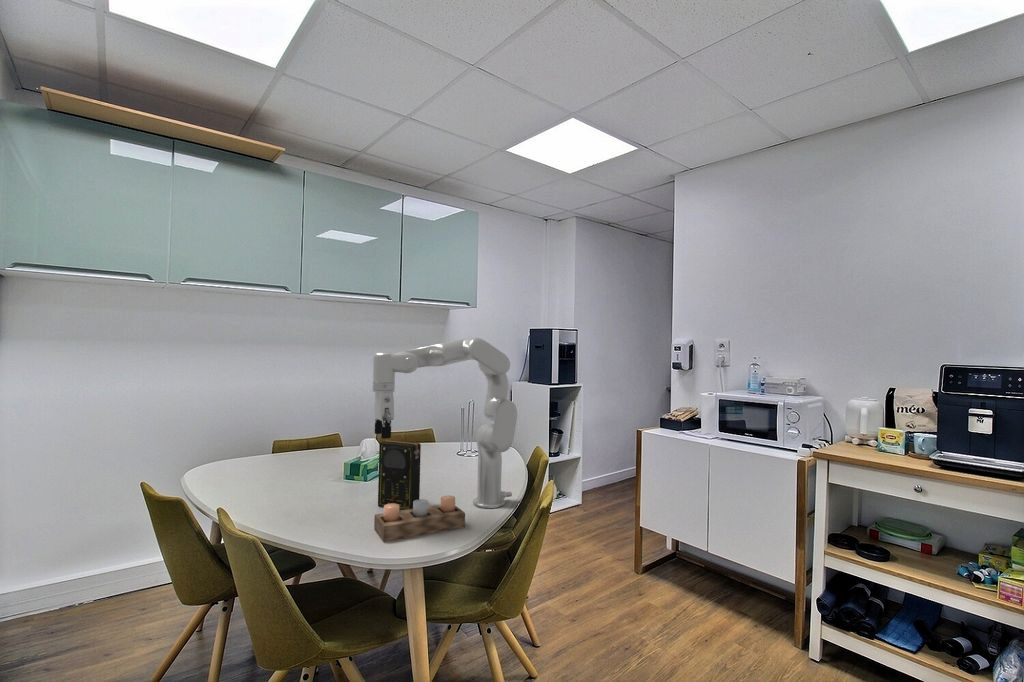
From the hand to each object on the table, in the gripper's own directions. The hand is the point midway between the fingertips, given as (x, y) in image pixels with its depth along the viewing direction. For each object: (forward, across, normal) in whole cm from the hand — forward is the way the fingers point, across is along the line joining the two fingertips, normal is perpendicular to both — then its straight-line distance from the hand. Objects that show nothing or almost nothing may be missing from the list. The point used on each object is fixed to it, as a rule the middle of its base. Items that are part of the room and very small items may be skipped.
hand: (382, 435), depth 168 cm
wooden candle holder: (+30, -12, -10) cm, 34 cm away
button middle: (+26, -12, -10) cm, 31 cm away
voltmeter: (+31, +13, -10) cm, 35 cm away
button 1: (+26, -12, 0) cm, 29 cm away
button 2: (+26, -12, -20) cm, 35 cm away
